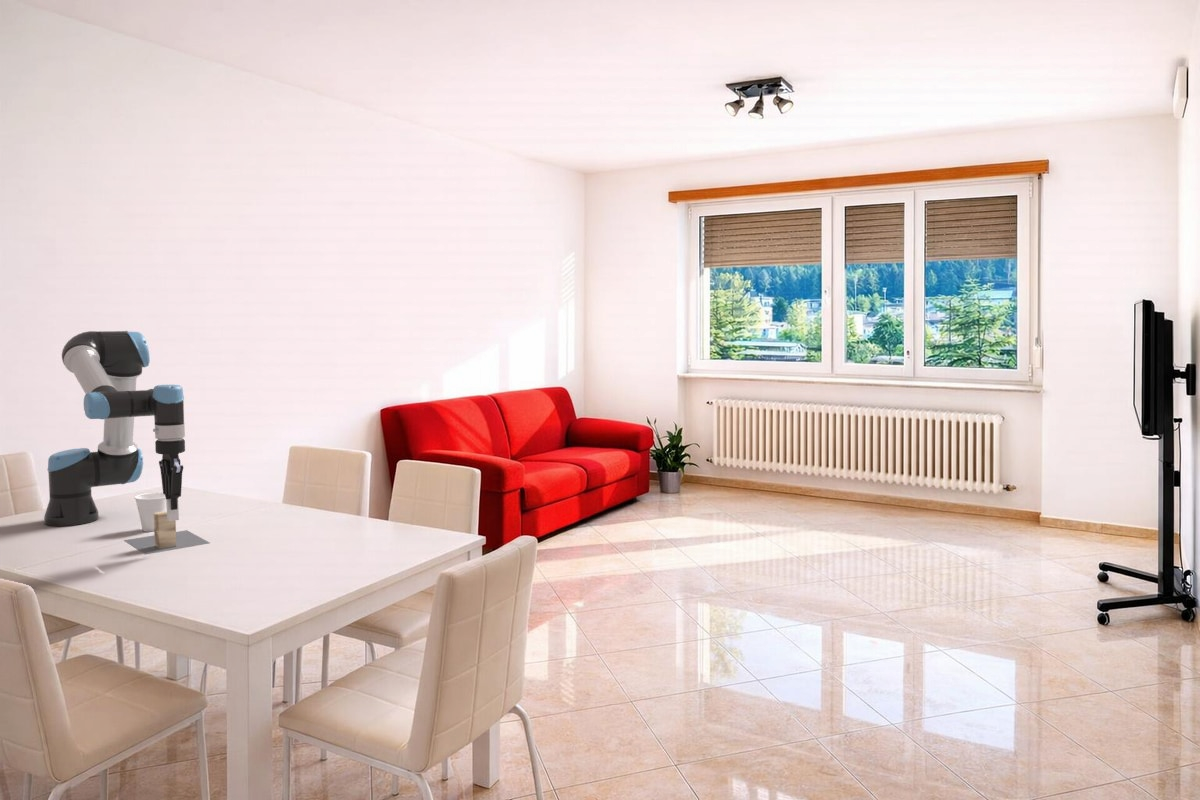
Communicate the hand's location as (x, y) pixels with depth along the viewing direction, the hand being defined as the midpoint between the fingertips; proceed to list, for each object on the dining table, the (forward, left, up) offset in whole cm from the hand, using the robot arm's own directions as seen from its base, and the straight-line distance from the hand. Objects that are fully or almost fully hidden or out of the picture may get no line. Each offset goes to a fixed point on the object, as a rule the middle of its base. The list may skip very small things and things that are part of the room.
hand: (172, 520), depth 239 cm
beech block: (-7, 0, -9) cm, 12 cm away
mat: (-12, +2, -10) cm, 16 cm away
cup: (-31, +4, -10) cm, 33 cm away
